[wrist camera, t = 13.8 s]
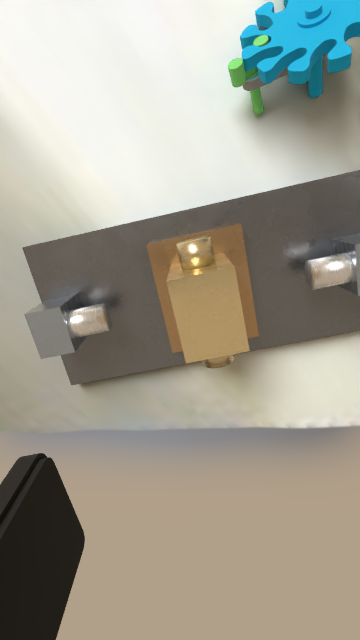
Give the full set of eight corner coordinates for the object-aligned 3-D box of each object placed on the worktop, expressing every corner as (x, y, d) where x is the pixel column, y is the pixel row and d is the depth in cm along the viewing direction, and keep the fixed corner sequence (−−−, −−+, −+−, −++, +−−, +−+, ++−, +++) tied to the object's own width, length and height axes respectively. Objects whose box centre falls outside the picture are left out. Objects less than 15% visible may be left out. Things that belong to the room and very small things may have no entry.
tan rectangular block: (219, 230, 28) (229, 236, 21) (239, 338, 30) (253, 375, 24) (165, 242, 28) (159, 252, 21) (190, 348, 31) (191, 386, 24)
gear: (364, -69, 23) (439, -2, 18) (357, 29, 28) (414, 99, 23) (209, 20, 26) (242, 96, 21) (228, 93, 31) (257, 167, 26)
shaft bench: (360, 170, 29) (403, 160, 23) (367, 322, 33) (405, 345, 27) (29, 245, 31) (-6, 254, 25) (76, 378, 35) (54, 410, 30)
